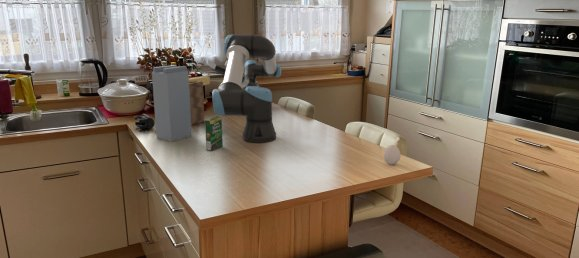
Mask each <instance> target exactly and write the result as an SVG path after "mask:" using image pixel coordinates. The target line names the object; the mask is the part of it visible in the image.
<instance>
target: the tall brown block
mask: <svg viewBox="0 0 579 258" xmlns="http://www.w3.org/2000/svg"><path fill="white" fill-rule="evenodd" d="M189 94H190V113H191V126H192V125H197V124H199V123H205V105H204V104H205V103H204V85H203V82H194V83H189Z"/></svg>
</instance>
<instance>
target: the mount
mask: <svg viewBox="0 0 579 258" xmlns="http://www.w3.org/2000/svg"><path fill="white" fill-rule="evenodd" d="M189 78H190V77H189V70H188V69H187V66H185V65H182V66H177V65H176V64H173V65H165V66H155V67H152V71H151V79H152V80H151V81H152V95H153V103H154V104H153V107H154V122H155V135H156V139H160V140H163V141H167V142H170V143H172V142H174V141H178V140H182V139H185V138H189V137H192V125H191V113H190V94H189Z"/></svg>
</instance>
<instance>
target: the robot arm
mask: <svg viewBox="0 0 579 258" xmlns="http://www.w3.org/2000/svg"><path fill="white" fill-rule="evenodd" d="M223 52H224V56H225V57H226V58H227V60H226V61H225V63H224V66H225V67H226V68H224V67H221V66H218V65H217V64H216V63H214V62H213V61H211V60H210V59H207V60H206V65H207V66H209V67H210V68H211V70H212V71H214V72H216V73H218V74H220V75H222V76H224V77H223V81H222V82H221V83H220V84H219V85H218V88H214V89H213V90H212V92H211V93H212V97H211V98H212V107H213V112H214V113H215V115H216V116H222V117H224V116H227V117H228V116H231V117H232V116H233V117H234V116H238V117H239V116H243V117H245V120H246V121H245V126H244V129H243V133H242V140H243V141H245V142H249V143H268V142H273V141H275V140H276V139H277V132H276V130H275V127H274V123H273V95H272V94H273V93H272V91H271V90H270V88H266V87H262V86H260V85H259V84H258V83H257V78H279V77H281V76H282V67H281V64H277V60H276V52H277V51H276V46H275V44H274V43H273V42H272V41H271V40H270V39H269V38H268V37H265V36H263V35H260V34H239V33H238V34H236V33H234V34H228V35H227V36H226V37H225V39H224V45H223ZM250 58H251V59H250ZM255 58H260V60H261V62H262V64H259V63H258V62H257V61H256V60H252V59H255Z"/></svg>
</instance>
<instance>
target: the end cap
mask: <svg viewBox="0 0 579 258" xmlns="http://www.w3.org/2000/svg"><path fill="white" fill-rule="evenodd" d="M134 120H135V122H134V124H135V129H136V130H137V131H139V132H140V133H143V132H148V131H149V132H150V131H152V129H153V128H154V127H155V126H156V123H155V119H154V118H153V117H151V116H150V115H148V114H146V113H142V114H141V115H134ZM136 120H138V121H136ZM142 131H143V132H142Z"/></svg>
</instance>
